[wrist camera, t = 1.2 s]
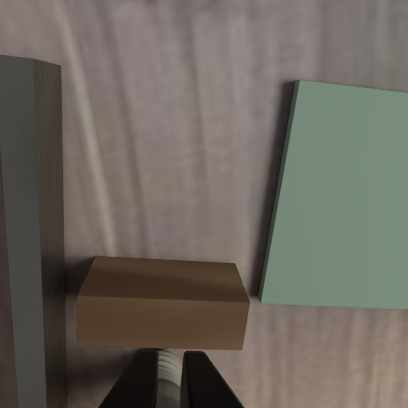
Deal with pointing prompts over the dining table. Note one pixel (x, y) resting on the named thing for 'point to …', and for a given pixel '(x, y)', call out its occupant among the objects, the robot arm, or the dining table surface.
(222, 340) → the cradle
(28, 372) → the bar
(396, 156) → the mat
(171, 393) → the light bulb
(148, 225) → the dining table surface
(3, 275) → the dining table surface
